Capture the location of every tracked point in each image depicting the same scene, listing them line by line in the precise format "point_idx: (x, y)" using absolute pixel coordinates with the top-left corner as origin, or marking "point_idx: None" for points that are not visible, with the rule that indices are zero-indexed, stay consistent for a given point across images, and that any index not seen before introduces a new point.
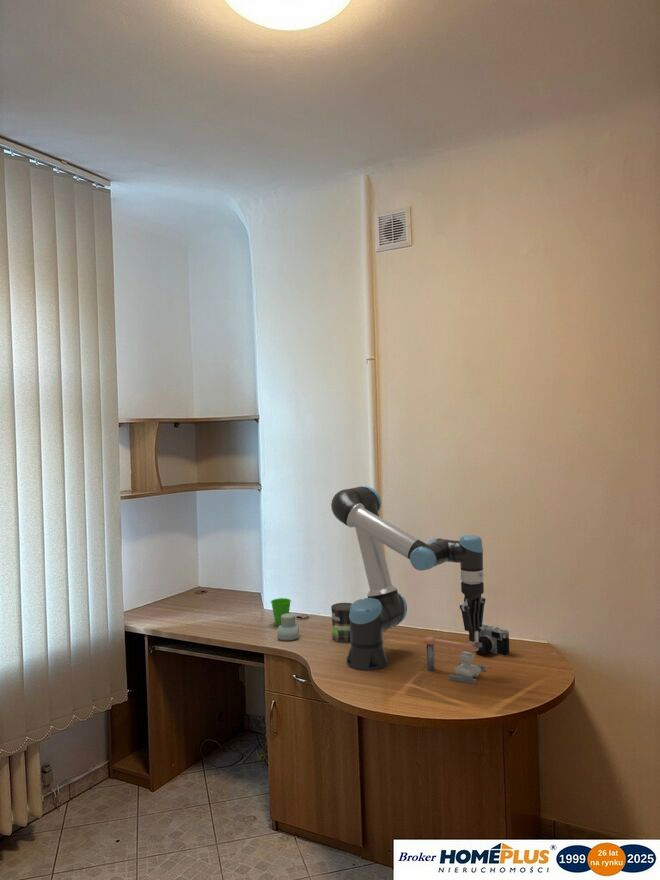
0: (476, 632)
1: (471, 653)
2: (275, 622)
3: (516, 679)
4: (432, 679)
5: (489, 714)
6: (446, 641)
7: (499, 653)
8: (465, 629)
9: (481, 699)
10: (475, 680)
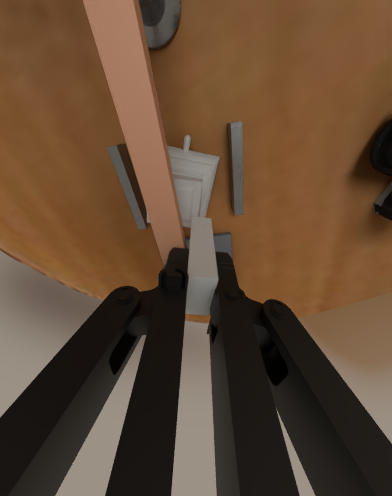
0: (188, 312)
1: (188, 219)
2: None
3: (235, 270)
4: (92, 69)
5: (68, 280)
6: (124, 76)
7: (389, 195)
8: (109, 301)
9: (103, 251)
10: (141, 228)
